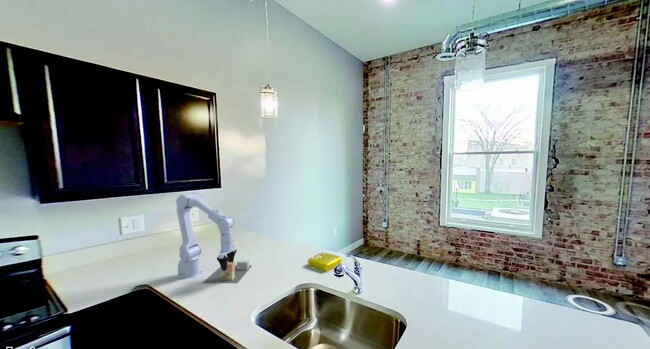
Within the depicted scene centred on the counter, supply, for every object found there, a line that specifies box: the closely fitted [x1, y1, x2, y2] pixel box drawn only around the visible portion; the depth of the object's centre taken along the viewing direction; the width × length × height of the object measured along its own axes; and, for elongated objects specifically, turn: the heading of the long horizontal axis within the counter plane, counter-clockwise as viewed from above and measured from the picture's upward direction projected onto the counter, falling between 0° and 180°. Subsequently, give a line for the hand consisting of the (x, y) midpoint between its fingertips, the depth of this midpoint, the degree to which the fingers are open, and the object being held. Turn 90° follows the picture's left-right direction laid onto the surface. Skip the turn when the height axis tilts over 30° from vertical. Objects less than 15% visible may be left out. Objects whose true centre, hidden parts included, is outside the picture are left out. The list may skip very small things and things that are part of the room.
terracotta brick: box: [221, 261, 236, 272], centre depth 133 cm, size 6×3×4 cm, turn 85°
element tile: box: [307, 251, 342, 272], centre depth 151 cm, size 15×15×5 cm
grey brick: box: [236, 259, 250, 269], centre depth 146 cm, size 6×3×4 cm, turn 86°
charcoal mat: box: [202, 264, 253, 284], centre depth 139 cm, size 18×22×1 cm
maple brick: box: [221, 270, 235, 280], centre depth 133 cm, size 6×3×4 cm, turn 86°
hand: (227, 267), depth 133 cm, fingers open, 7 cm apart
